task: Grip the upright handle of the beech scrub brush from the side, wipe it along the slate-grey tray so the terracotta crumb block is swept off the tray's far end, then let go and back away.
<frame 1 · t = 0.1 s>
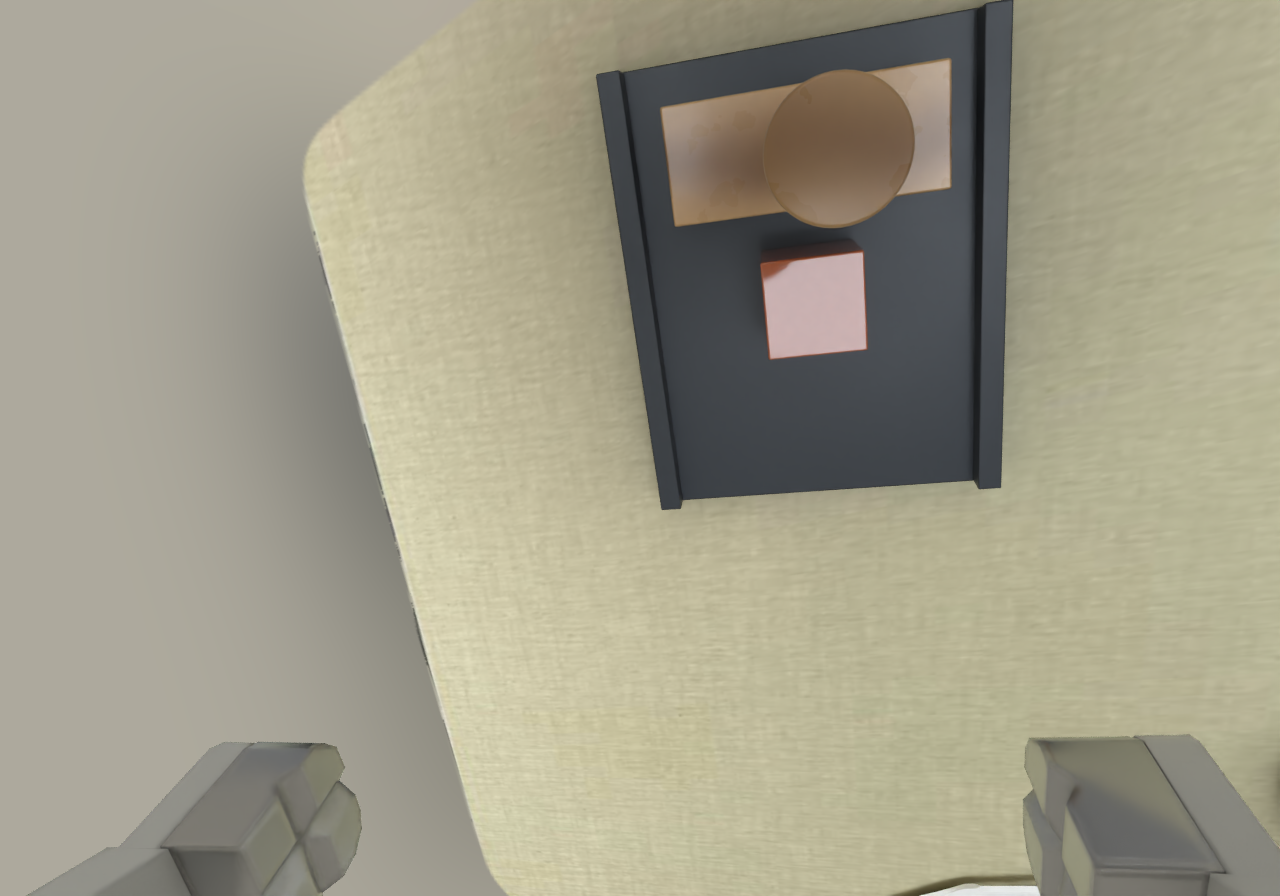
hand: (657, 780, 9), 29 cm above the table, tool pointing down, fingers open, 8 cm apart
tray: (808, 285, 35), on the table
crumb block: (809, 289, 34), point 1 cm above the table, touching tray
brush: (799, 147, 32), point 1 cm above the table, touching tray
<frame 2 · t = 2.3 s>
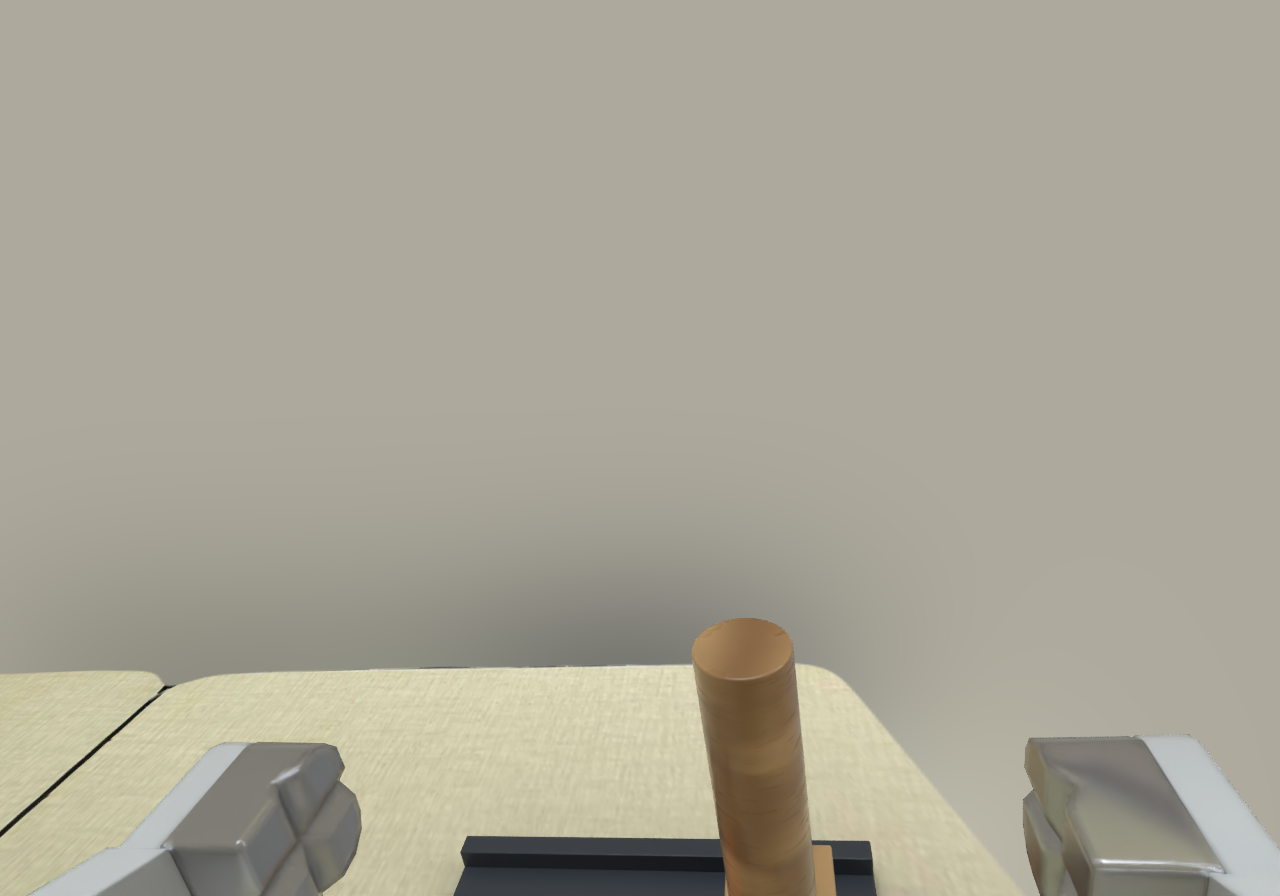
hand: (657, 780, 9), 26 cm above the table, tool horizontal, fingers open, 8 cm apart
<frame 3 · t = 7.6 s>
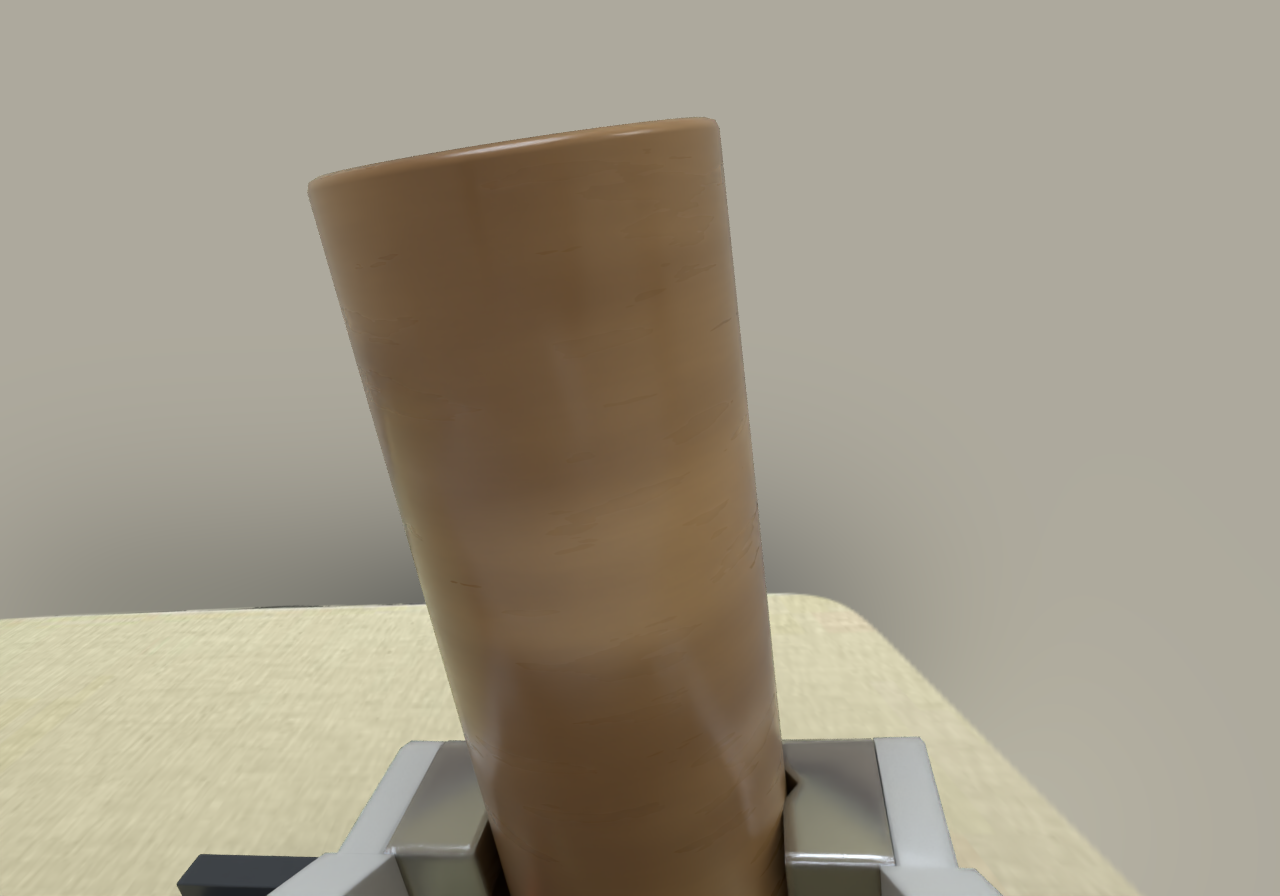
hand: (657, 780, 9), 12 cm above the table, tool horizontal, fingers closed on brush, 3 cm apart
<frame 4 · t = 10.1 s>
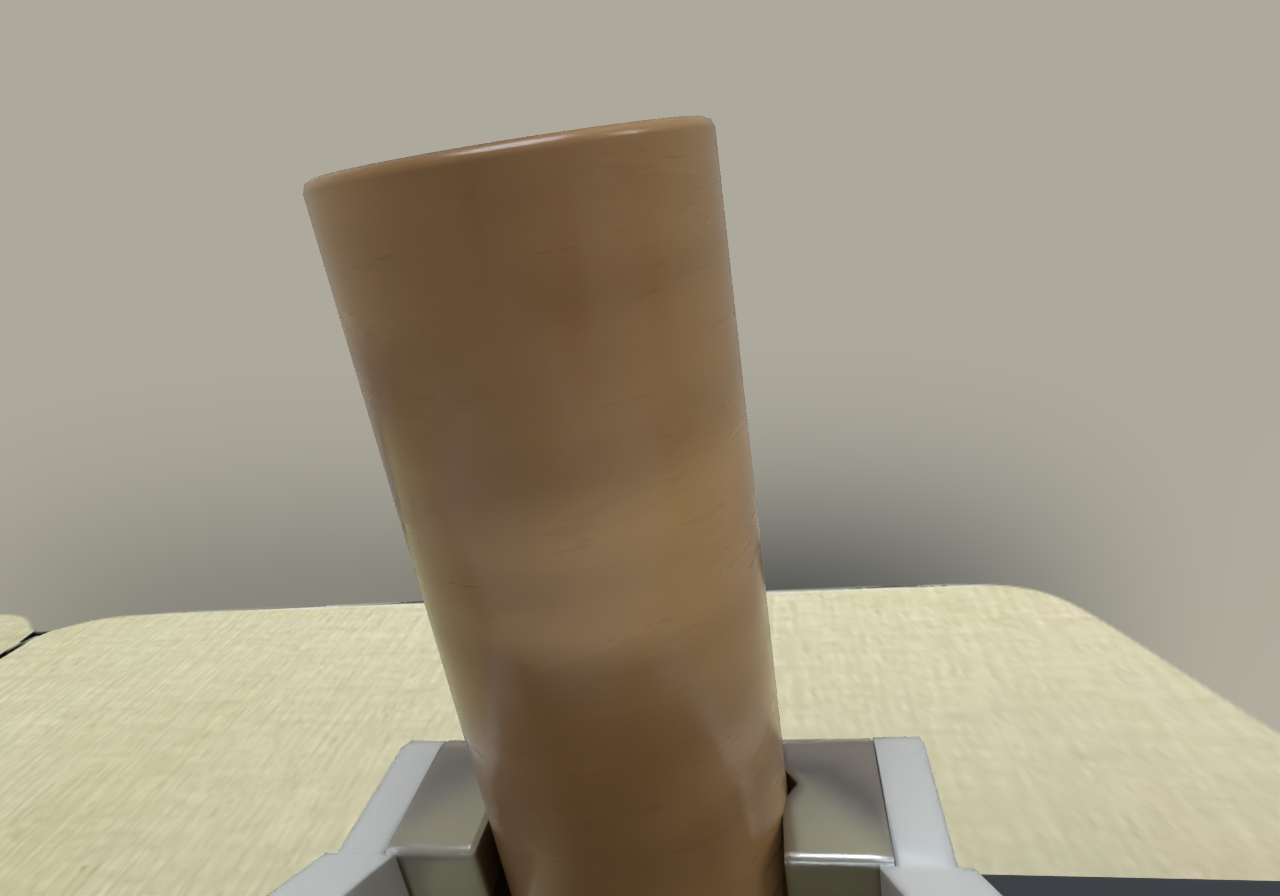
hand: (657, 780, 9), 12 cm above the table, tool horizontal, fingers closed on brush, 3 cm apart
when the fingers open (12 cm above the table, at t = 12.1 s): brush stays where it is, resting on tray.
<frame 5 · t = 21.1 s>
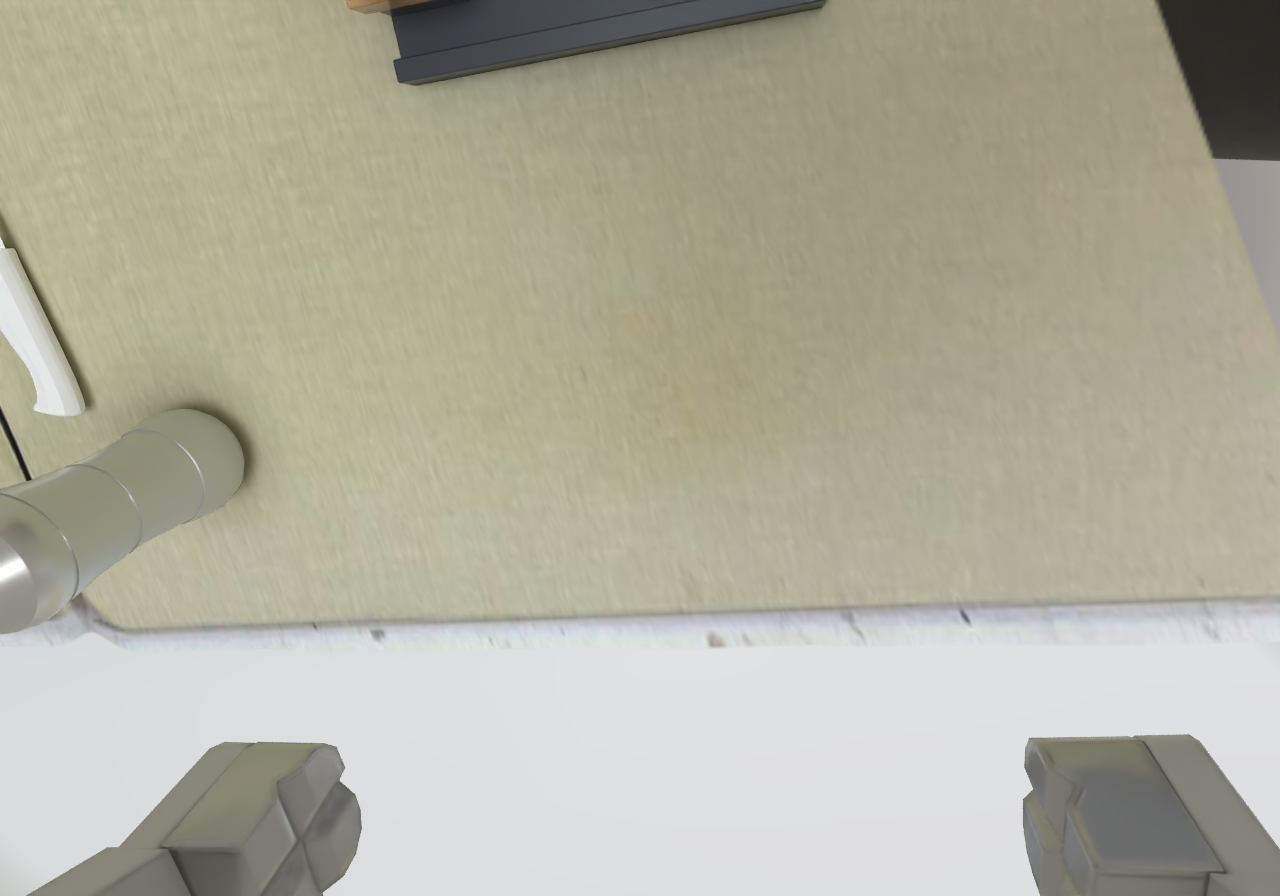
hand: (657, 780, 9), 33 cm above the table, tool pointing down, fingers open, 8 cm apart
plastic bottle: (214, 447, 48), on the table
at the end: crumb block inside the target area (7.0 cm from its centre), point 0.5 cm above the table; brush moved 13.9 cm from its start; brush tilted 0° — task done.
